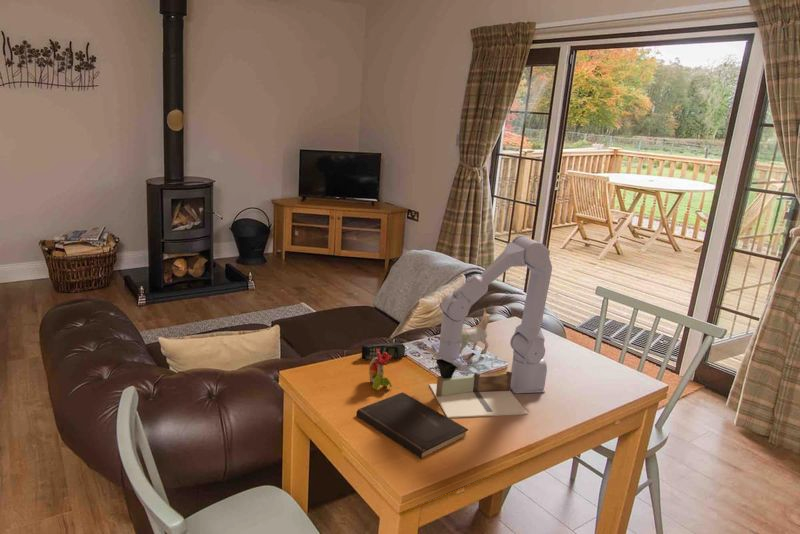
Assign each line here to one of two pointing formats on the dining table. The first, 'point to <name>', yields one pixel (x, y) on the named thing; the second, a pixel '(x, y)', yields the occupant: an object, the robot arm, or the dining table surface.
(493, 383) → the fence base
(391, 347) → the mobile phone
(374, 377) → the bird rattle
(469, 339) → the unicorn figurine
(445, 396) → the card
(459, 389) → the fence panel
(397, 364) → the dining table surface
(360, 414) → the hardcover book
